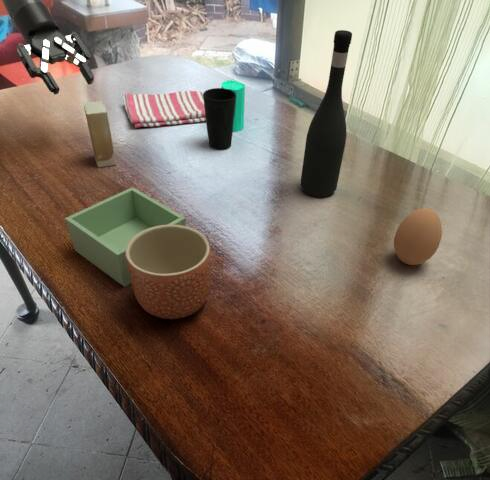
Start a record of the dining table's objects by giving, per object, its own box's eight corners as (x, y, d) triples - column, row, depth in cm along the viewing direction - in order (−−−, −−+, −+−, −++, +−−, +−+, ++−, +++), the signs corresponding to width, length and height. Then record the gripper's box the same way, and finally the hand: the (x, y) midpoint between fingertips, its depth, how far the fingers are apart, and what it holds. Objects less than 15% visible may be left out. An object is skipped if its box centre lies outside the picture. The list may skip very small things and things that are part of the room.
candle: (218, 123, 122) (218, 74, 113) (240, 121, 123) (241, 73, 114) (224, 132, 118) (224, 83, 109) (246, 130, 119) (248, 81, 110)
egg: (389, 272, 81) (407, 220, 73) (386, 246, 86) (402, 195, 78) (432, 277, 80) (455, 225, 73) (426, 251, 86) (447, 200, 78)
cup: (239, 140, 115) (240, 90, 106) (230, 154, 110) (230, 102, 101) (210, 136, 116) (209, 86, 107) (200, 149, 111) (198, 97, 102)
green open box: (124, 287, 76) (117, 255, 71) (74, 250, 82) (64, 218, 77) (188, 249, 84) (185, 217, 79) (137, 217, 90) (132, 186, 85)
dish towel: (123, 105, 128) (121, 92, 125) (203, 97, 133) (202, 85, 131) (132, 130, 117) (130, 116, 114) (219, 121, 122) (219, 108, 120)
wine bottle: (309, 176, 104) (332, 23, 82) (341, 186, 101) (373, 30, 79) (293, 191, 99) (313, 33, 77) (326, 202, 96) (356, 41, 74)
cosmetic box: (94, 155, 107) (82, 101, 98) (112, 153, 108) (102, 99, 99) (98, 168, 103) (86, 113, 94) (117, 165, 104) (107, 111, 95)
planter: (120, 300, 74) (107, 246, 66) (179, 267, 80) (174, 214, 72) (167, 342, 68) (159, 288, 60) (227, 303, 74) (227, 250, 66)
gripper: (-1, 6, 88) (48, 85, 91) (63, -5, 95) (107, 69, 98) (-5, 32, 94) (42, 105, 97) (56, 20, 101) (97, 88, 105)
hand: (74, 87), depth 98 cm, fingers open, 8 cm apart
